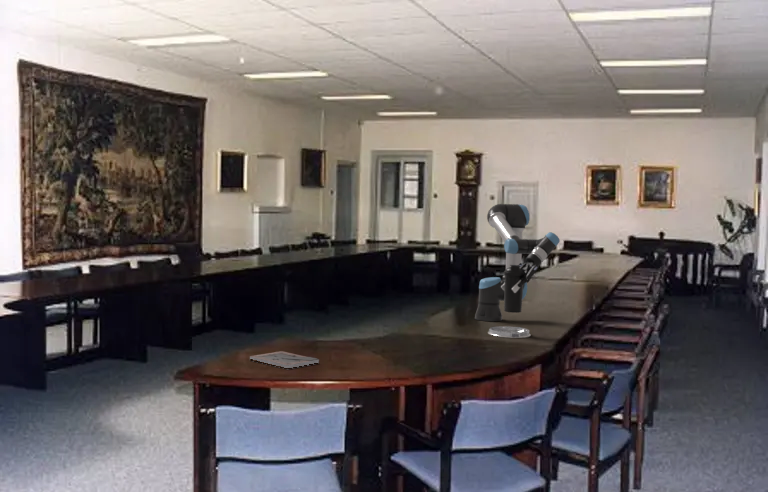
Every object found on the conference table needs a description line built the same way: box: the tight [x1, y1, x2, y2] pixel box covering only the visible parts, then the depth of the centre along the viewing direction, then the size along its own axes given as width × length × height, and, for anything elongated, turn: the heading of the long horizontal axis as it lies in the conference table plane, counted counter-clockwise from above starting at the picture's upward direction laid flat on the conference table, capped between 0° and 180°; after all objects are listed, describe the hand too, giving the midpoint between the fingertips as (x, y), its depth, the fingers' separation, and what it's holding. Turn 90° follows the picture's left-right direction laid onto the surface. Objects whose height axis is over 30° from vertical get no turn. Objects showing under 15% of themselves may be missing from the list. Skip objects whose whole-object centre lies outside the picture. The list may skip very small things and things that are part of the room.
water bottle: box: [503, 265, 525, 314], centre depth 392 cm, size 10×10×23 cm
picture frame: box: [249, 350, 320, 369], centre depth 309 cm, size 16×2×22 cm
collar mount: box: [487, 325, 531, 339], centre depth 393 cm, size 21×21×2 cm
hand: (507, 289), depth 391 cm, fingers closed on water bottle, 9 cm apart
